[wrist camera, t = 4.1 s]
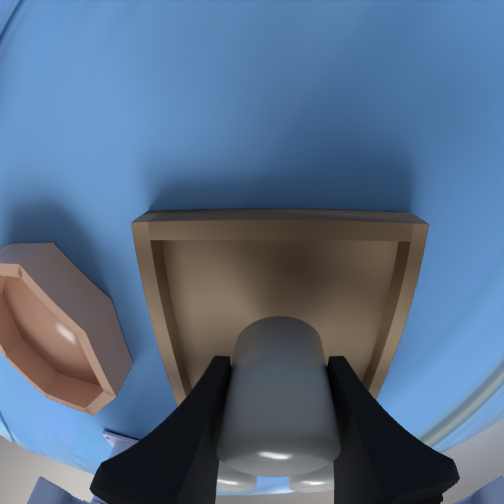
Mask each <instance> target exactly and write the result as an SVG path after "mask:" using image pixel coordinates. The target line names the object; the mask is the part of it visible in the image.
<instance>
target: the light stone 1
mask: <svg viewBox="0 0 504 504" xmlns="http://www.w3.org/2000/svg"><path fill="white" fill-rule="evenodd" d="M256 482H257V475H252V474H247V473H243V472H240V471H237V470H235V469H233V468H231V467H229V466H227V465H226V464H224V463H223V462H222V461H221V460H220V461H219V469H218V478H217V488H216V490H221V491H230V492H241V491H248V490H252V489H254V488H255V487H256Z"/></svg>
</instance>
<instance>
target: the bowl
mask: <svg viewBox="0 0 504 504" xmlns="http://www.w3.org/2000/svg"><path fill="white" fill-rule="evenodd" d="M0 350H1V352H2V354H3V356H4V357H5V358H6V359H7V360H8V361H9V363H10V364H11V365H12V366H13V367H14V368H15V369H16V370H17V371H18V372H19V373H20V374H21V375H22V376H23V377H24V378H26V379H27V380H28V381H29V382H30V383H31V384H32V385H33V386H34V387H35V388H36V389H37V390H39V391H40V392H41V393H42V394H43V395H44V396H46V397H47V398H48V399H51V400H53V401H55V402H58V403H60V404H63V405H65V406H68V407H70V408H73V409H76V410H78V411H81V412H84V413H87V414H90V415H94V414H96V413H97V412H98V411H99V410H101V409H102V408H103V407H104V406H106V405H107V404H108V403H109V402H110V401H112V400H113V399H114V398H115V397H116V396H117V394H118V392H119V390H120V388H121V386H122V385H123V383H124V381H125V379H126V377H127V375H128V373H129V371H130V369H131V367H132V366H133V364H134V363H133V360H132V358H131V355H130V353H129V350H128V347H127V344H126V342H125V339H124V336H123V333H122V330H121V327H120V324H119V321H118V318H117V315H116V311H115V308H114V305H113V301H112V300H111V299H110V298H109V297H108V296H107V295H106V294H105V293H104V292H103V291H101V290H100V289H99V288H98V287H97V286H96V285H95V284H94V283H93V282H92V281H91V280H90V279H89V278H88V277H87V276H86V275H85V274H83V273H82V272H81V271H80V270H79V269H78V268H77V267H76V266H75V265H74V264H73V263H72V262H71V261H70V260H69V259H68V257H67V256H66V255H65V254H64V253H63V252H62V251H61V250H60V249H59V248H58V247H57V246H56V245H55V244H54V243H53V242H44V243H10V244H8V245H6V246H5V247H3V248H1V249H0Z"/></svg>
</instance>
